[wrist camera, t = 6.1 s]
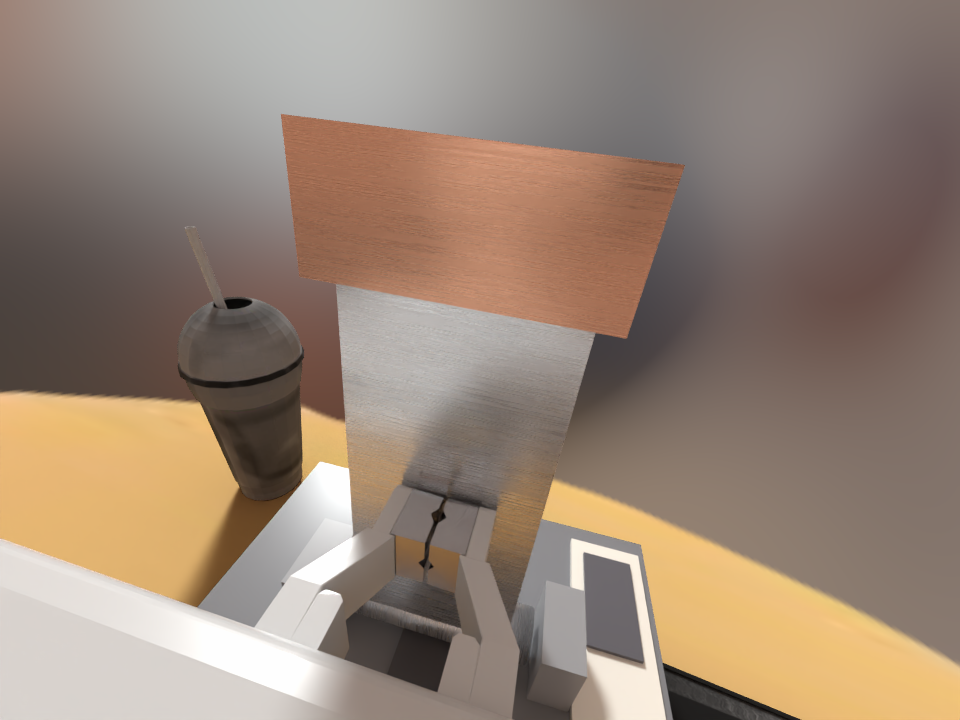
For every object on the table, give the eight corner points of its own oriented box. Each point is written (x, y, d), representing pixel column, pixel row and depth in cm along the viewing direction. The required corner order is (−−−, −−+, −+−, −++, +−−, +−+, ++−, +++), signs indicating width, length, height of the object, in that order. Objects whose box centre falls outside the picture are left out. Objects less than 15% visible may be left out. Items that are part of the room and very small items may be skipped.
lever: (329, 631, 15) (256, 110, 7) (366, 560, 18) (348, 129, 10) (520, 694, 14) (718, 169, 6) (528, 608, 17) (669, 170, 8)
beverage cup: (328, 495, 30) (296, 241, 20) (219, 530, 26) (116, 243, 16) (311, 438, 35) (280, 216, 25) (219, 462, 31) (141, 213, 22)
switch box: (134, 826, 15) (11, 735, 10) (329, 531, 27) (315, 424, 22) (641, 1047, 12) (800, 1064, 8) (606, 610, 24) (659, 509, 20)
